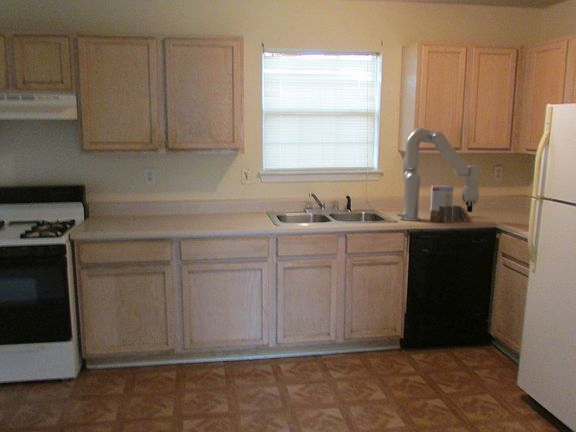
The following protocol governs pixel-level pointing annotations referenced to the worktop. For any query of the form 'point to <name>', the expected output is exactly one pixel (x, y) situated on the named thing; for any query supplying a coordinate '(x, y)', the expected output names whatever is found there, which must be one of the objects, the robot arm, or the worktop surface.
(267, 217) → the worktop surface
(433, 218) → the end block
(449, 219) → the domino
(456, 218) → the domino
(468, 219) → the domino
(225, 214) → the worktop surface
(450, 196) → the cracker box
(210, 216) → the worktop surface
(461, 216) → the domino
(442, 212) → the domino
